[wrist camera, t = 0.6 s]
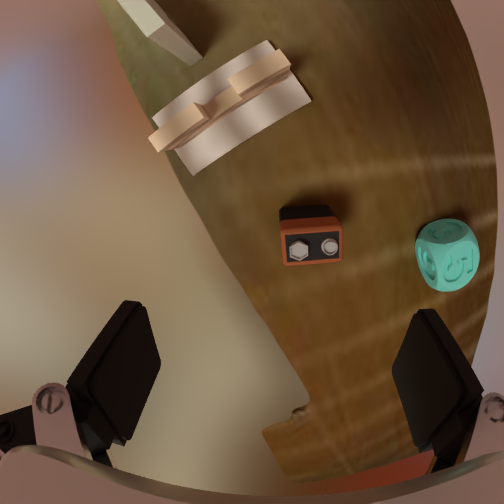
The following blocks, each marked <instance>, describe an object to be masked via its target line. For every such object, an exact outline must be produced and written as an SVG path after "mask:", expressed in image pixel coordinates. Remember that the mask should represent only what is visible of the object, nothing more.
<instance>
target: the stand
mask: <svg viewBox="0 0 504 504" xmlns="http://www.w3.org/2000/svg"><path fill="white" fill-rule="evenodd" d="M290 66H291V63H290V62H289V61H288V59H287V58H286V57H285V55H284V54H283V53H282V52H281V50H280V49H278V50H276V51H275V49H274V48H273V47H272V46H271V44H270V43H269V42H268V41H267V40H266V41H264V42H262V43H260V44H258V45H256V46H255V47H253V48H251V49H249V50H248V51H246V52H244V53H242V54H241V55H239V56H237V57H236V58H234V59H232V60H231V61H229V62H228V63H226V64H224V65H223V66H221V67H220V68H218V69H217V70H215V71H214V72H212V73H211V74H209V75H208V76H206V77H205V78H203V79H202V80H200V81H199V82H197V83H196V84H195V85H193V86H192V87H190V88H189V89H188V90H186V91H185V92H184V93H182V94H181V95H180V96H178V97H177V98H176V99H174V100H173V101H172V102H171V103H169V104H168V105H167V106H166V107H164V108H163V109H162V110H161V111H159V112H158V113H157V114H156V115H154V116H153V117H152V118H153V120H154V121H155V123H156V124H157V125H158V127H159V129H158V130H157V131H155V132H154V133H153V134H152V135H151V136H150V137H148V139H149V140H150V142H151V143H152V144H153V146H154V147H155V149H156V150H157V152H162V151H167V150H171V149H174V150H175V151H176V153H177V154H178V155H179V157H180V158H181V160H182V161H183V163H184V164H185V165H186V167H187V168H188V170H189V171H190V173H191V174H192V175H193V176H194V175H195V174H197V173H198V172H199V171H201V170H202V169H204V168H205V167H207V166H208V165H209V164H211V163H212V162H214V161H215V160H217V159H218V158H220V157H221V156H223V155H224V154H226V153H227V152H229V151H230V150H232V149H233V148H235V147H236V146H238V145H239V144H241V143H242V142H244V141H245V140H247V139H249V138H250V137H252V136H253V135H255V134H257V133H258V132H260V131H261V130H263V129H265V128H266V127H268V126H270V125H271V124H273V123H275V122H276V121H278V120H280V119H281V118H283V117H285V116H287V115H288V114H290V113H292V112H294V111H295V110H297V109H299V108H301V107H302V106H304V105H306V104H308V103H310V102H311V99H310V98H309V96H308V95H307V93H306V92H305V90H304V89H303V87H302V86H301V84H300V83H299V82H298V80H297V79H296V77H295V76H294V75H293V73H292V72H291V70H290Z"/></svg>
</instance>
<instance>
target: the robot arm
mask: <svg viewBox="0 0 504 504" xmlns="http://www.w3.org/2000/svg"><path fill="white" fill-rule="evenodd" d="M160 366H161V360H160V357H159V353H158V350H157V346H156V343H155V340H154V336H153V332H152V329H151V325H150V321H149V317H148V314H147V310H146V308H145V307H144V306H142V304H141V303H140V302H136V301H127V300H125V301H124V302H122V304H121V305H120V306H119V308H118V309H117V310H116V312H115V313H114V314H113V316H112V317H111V318H110V320H109V321H108V323H107V324H106V325H105V327H104V328H103V330H102V331H101V332H100V334H99V335H98V336H97V338H96V339H95V341H94V342H93V343H92V345H91V346H90V348H89V349H88V351H87V352H86V354H85V355H84V357H83V358H82V359H81V361H80V363H79V364H78V365H77V367H76V368H75V370H74V371H73V373H72V374H71V376H70V377H69V379H68V381H67V383H68V384H67V385H66V387H64V386H63V385H61V384H59V383H48V384H46V385H43V386H42V387H40V388H39V389H38V390H37V391H36V393H35V394H34V397H33V400H32V405H30V406H27V407H24V408H21V409H18V410H15V411H12V412H9V413H5V414H2V415H0V504H504V396H502V395H501V394H499V393H489V394H487V395H485V396H484V397H482V395H481V394H482V392H483V391H484V389H483V387H482V386H481V384H480V382H479V380H478V378H477V377H476V375H475V373H474V371H473V369H472V368H471V366H470V364H469V362H468V361H467V359H466V357H465V356H464V354H463V352H462V351H461V349H460V347H459V346H458V344H457V342H456V341H455V339H454V338H453V336H452V335H451V333H450V332H449V330H448V328H447V327H446V325H445V324H444V322H443V321H442V319H441V318H440V316H439V315H438V314H437V312H436V311H435V310H434V309H420V310H418V311H417V313H416V314H414V315H413V317H412V320H411V322H410V325H409V328H408V330H407V333H406V335H405V338H404V340H403V343H402V345H401V348H400V350H399V352H398V355H397V357H396V359H395V361H394V364H393V366H392V376H393V378H394V381H395V384H396V387H397V390H398V393H399V396H400V399H401V402H402V405H403V408H404V411H405V415H406V418H407V421H408V425H409V428H410V431H411V435H412V438H413V442H414V445H415V446H416V447H418V448H419V452H420V453H422V452H426V451H429V450H432V449H433V450H434V457H433V459H432V461H431V463H430V465H429V467H428V469H427V471H426V473H425V475H424V476H421V477H417V478H414V479H410V480H407V481H403V482H399V483H395V484H391V485H386V486H381V487H376V488H372V489H366V490H359V491H352V492H345V493H337V494H327V495H314V496H291V497H290V496H288V497H286V496H283V497H281V496H276V497H275V496H274V497H273V496H250V495H237V494H227V493H219V492H211V491H204V490H198V489H192V488H187V487H181V486H177V485H172V484H168V483H164V482H159V481H156V480H152V479H148V478H145V477H141V476H137V475H134V474H131V473H127V472H124V471H121V470H118V469H117V466H116V464H115V461H114V459H113V457H112V454H111V452H110V446H111V444H112V443H115V444H118V445H122V446H125V443H126V441H127V440H130V439H131V438H132V436H133V433H134V431H135V428H136V426H137V423H138V421H139V418H140V416H141V413H142V410H143V408H144V406H145V403H146V401H147V398H148V396H149V394H150V391H151V389H152V386H153V384H154V382H155V379H156V377H157V375H158V372H159V370H160Z"/></svg>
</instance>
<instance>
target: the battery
mask: <svg viewBox="0 0 504 504" xmlns="http://www.w3.org/2000/svg"><path fill="white" fill-rule="evenodd" d="M279 218H280V235H281V247H282V258H283V264H284V265H286V266H292V265H304V264H316V263H328V262H338V261H341V260H342V259H343V227H342V225H341V224H340V222H339V221H338V219H337V218H336V216H335V215H334V214H333V212H332V211H331V209H330V208H329V206H327V205H315V206H302V207H289V208H281V209H280V210H279Z"/></svg>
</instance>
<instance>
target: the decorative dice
mask: <svg viewBox="0 0 504 504" xmlns="http://www.w3.org/2000/svg"><path fill="white" fill-rule="evenodd" d="M415 252H416V257H417V261H418V265H419V268H420V270H421V273H422V275H423V277H424V279H425V281H426V282H427V284H428V285H429V286H430V287H432V288H434V289H436V290H439V291H454V290H457V289H460V288H462V287H463V286H465V285H466V284H467V283H468V282H469V281H470V280H471V279H472V277H473V276H474V274H475V272H476V270H477V267H478V264H479V257H480V255H479V247H478V243H477V240H476V238H475V235H474V233H473V232H472V230H471V229H470V227H469V226H468V225H467V224H465V223H464V222H462V221H460V220H457V219H440V220H436V221H433V222H431V223H429V224H427V225H426V226H425V227H424V228H423V229H422V230H421V232H420V234H419V235H418V237H417V240H416V243H415Z"/></svg>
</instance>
